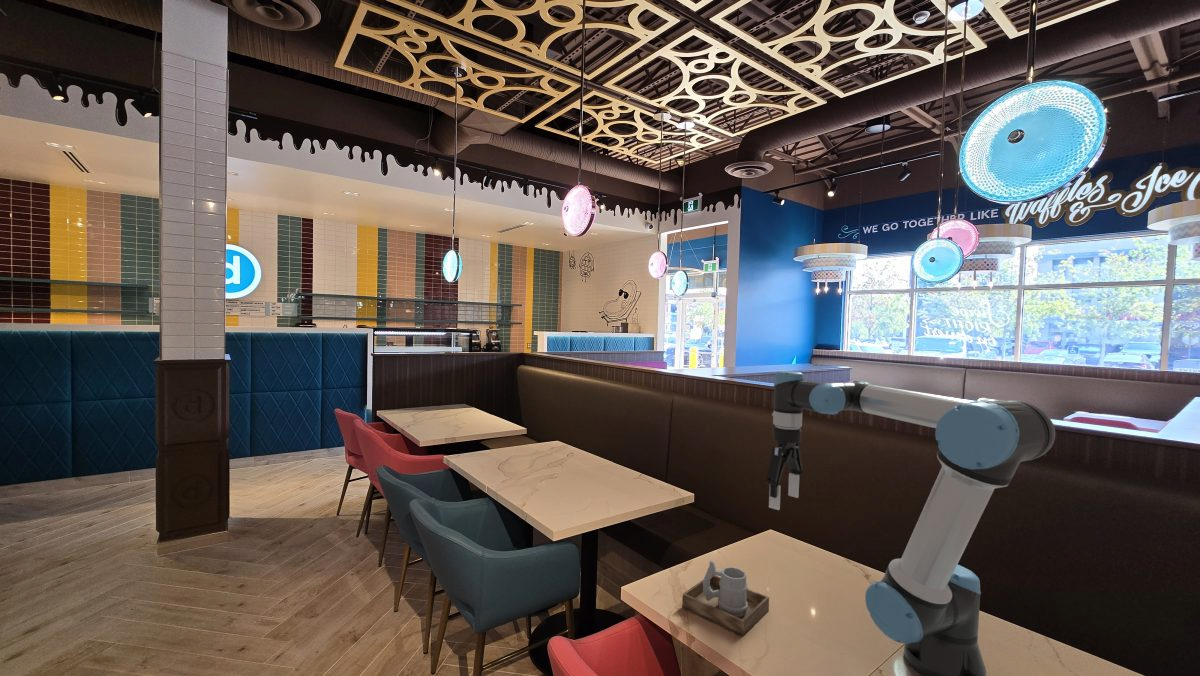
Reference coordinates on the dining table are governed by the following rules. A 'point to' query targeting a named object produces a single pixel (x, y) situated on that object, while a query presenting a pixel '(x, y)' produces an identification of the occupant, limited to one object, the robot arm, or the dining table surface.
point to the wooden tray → (711, 612)
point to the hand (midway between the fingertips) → (784, 502)
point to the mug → (728, 589)
